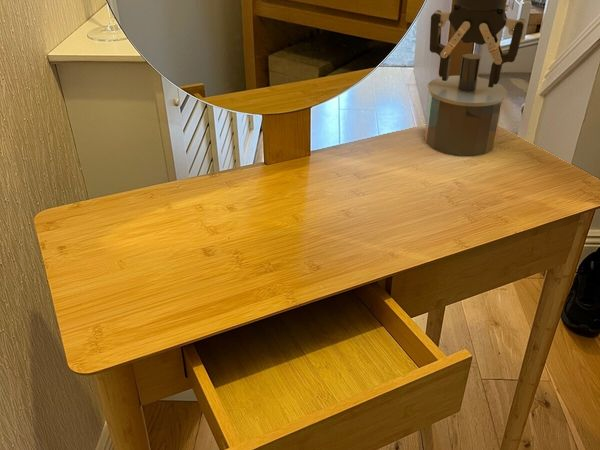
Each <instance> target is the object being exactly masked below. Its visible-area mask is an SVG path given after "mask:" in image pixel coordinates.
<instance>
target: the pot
mask: <svg viewBox="0 0 600 450" xmlns="http://www.w3.org/2000/svg"><path fill="white" fill-rule="evenodd" d="M428 94H429V93H428ZM503 101H504V100H503ZM503 101H502V102H500V103H497V104H494V105H489V106H461V105H455V104H450V103H446V102H443V101H440V100H438V99H436V98H434V97H432V96H431V95H430V94H429V95H428V104H427V110H426V111H427V112H426V121H425V128H424V136H423V137H424V141H425V144H426V145H427V146H428V147H430V148H431V149H432V150H434V151H437V152H438V153H441V154H445V155H448V156H449V155H450V156H454V157H477V156H482V155H486V154H488V153H490V152H492V151H493V150H494V148H495V145H496V139H497V134H498V129H499V123H500V118H501V112H502V107H503Z"/></svg>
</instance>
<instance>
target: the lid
mask: <svg viewBox="0 0 600 450" xmlns="http://www.w3.org/2000/svg"><path fill="white" fill-rule="evenodd" d="M481 58H482V56H481V55H479V54H476V53H465V54H462V57H461V62H460V63H461V64H460V71H459V75H449V77H448V79H447V81H442V77H436V78H434V79H431V80H430V81H429V82H428V84H427V89H426V90H427V93H428V94H430V95H431V96H432V97H434V98H436V99H438V100H440V101H443V102H446V103H450V104H455V105H461V106H489V105H494V104H497V103H500V102H502V101H505V99H506V98H507V95H508V94H507V93H508V92H507V89H506V88H505V86H504V85H502V84H500V83H499V82H498V83H497V84H494V86H493V88H491V87H488V84H489V79H488V78H485V77H479V72H480V66H481V60H482V59H481ZM502 103H503V102H502Z"/></svg>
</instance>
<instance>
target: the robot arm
mask: <svg viewBox="0 0 600 450" xmlns="http://www.w3.org/2000/svg"><path fill="white" fill-rule="evenodd" d="M507 1H508V0H454V1H453V7H452V9H451V11H450V12H442V11H441V10H439V9H437V10H436V11H435V12H433V13H432V15H430V29H429V30H430V31H429V51H430V53H432V54H434V53H435V54H436V55H438V56H439V58H440V59H439V66H438V78H440V77H442V81H447V79H448V77H449V76H450V72H451V71H450V70H451V62H452V56H453V55H452V54H451V53H452V51H453V50H454V49H455V47H456V46H457V45H458V43H459V42H460V41H461V42H462V43H463V44H471V43H473V44H477V45H480V46H481V45H482V46H484V44H486V47H487V48H486V49H487V50H488V52H489V53H490V56H491V58H492V60H493V62H492V64H491V68H490V73H489V77H488V78H489V79H488V80H489V84H488V87H491V88H493V86H494V84H497V83H499V81H500V80H501V74H502V68H503V64H505V63H514V62H515V60H516V57H517V56H518V52H519V48H520V45H521V41H522V37H523V33H524V29H525V25H526V19H524V18H519V19H514V18H508V17H507V14H506V8H507ZM447 21H449V23H450V25H451V27H452V28H453V30H454V34H453V35H452V36H451V38H450V39H449V41H448V42H447V44H446V45H444V44H442V43H441V42H442V28H443V27H444V26H446V23H447ZM505 27H507V31H508V34H509V35H510V36H511V40H510V44H509V47H508V51H506V52H505V51H503V48H502V46H501V42H500V39H499V36H498V33H500V32H501V31H502V30H503V29H504V28H505Z"/></svg>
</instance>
